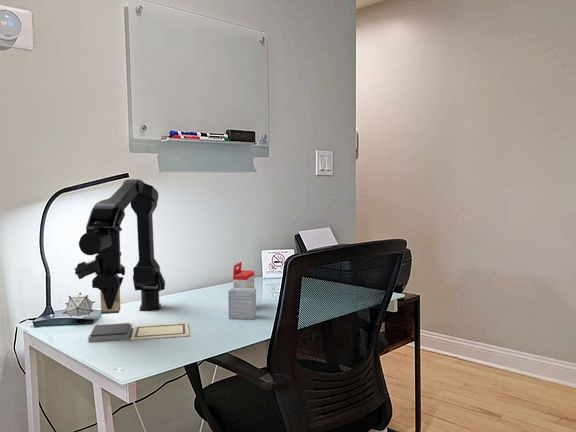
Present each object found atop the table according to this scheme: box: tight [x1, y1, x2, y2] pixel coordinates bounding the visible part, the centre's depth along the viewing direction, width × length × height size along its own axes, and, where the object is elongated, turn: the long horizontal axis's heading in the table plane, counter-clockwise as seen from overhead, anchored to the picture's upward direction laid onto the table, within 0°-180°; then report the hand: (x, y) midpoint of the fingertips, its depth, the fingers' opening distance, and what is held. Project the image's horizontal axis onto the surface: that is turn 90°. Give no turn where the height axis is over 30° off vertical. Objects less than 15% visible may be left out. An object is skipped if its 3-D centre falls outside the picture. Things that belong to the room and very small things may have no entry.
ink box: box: [232, 261, 255, 288], centre depth 161 cm, size 8×5×15 cm, turn 168°
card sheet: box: [129, 322, 190, 341], centre depth 136 cm, size 12×15×1 cm
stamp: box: [100, 286, 121, 315], centre depth 133 cm, size 4×4×6 cm
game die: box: [62, 292, 96, 317], centre depth 147 cm, size 9×8×10 cm
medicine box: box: [227, 287, 257, 320], centre depth 150 cm, size 8×4×9 cm, turn 84°
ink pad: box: [87, 322, 133, 343], centre depth 133 cm, size 10×10×2 cm
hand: (110, 306), depth 133 cm, fingers closed on stamp, 4 cm apart
